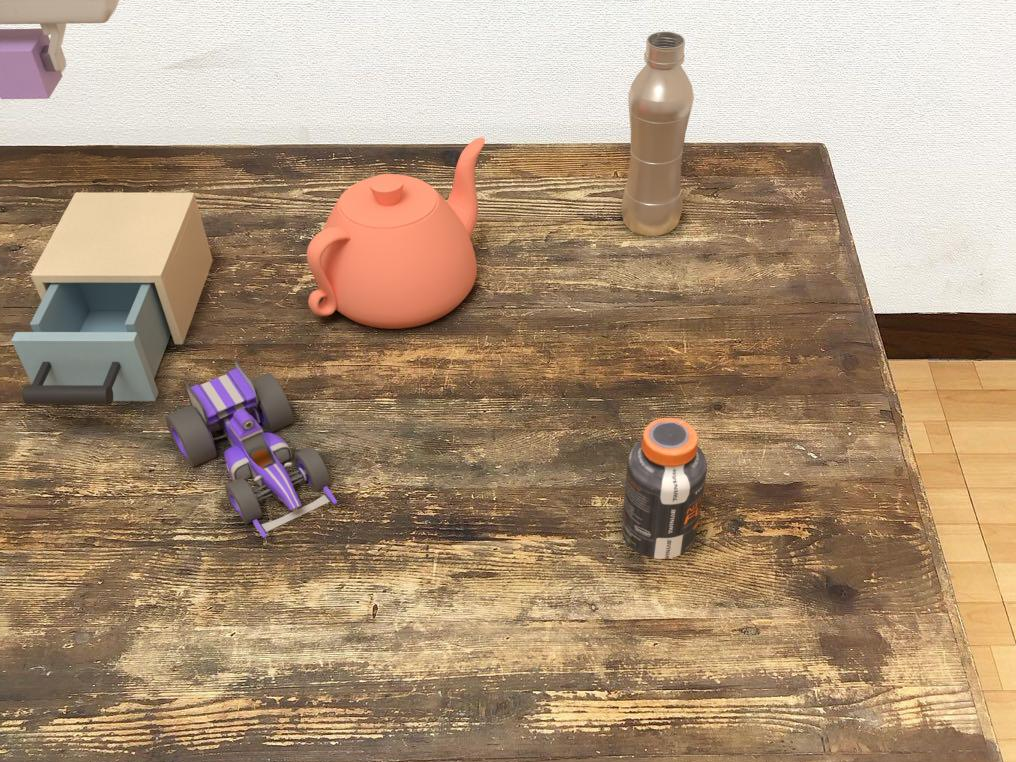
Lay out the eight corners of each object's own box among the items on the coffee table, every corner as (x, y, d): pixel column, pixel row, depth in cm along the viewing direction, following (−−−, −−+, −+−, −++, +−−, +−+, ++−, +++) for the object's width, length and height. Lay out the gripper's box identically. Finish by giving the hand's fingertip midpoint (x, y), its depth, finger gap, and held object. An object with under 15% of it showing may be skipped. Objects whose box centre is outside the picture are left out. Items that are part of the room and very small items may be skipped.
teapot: (443, 217, 116) (434, 106, 107) (540, 279, 109) (540, 166, 99) (272, 300, 106) (245, 187, 97) (365, 375, 99) (347, 260, 89)
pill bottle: (692, 570, 83) (709, 467, 75) (617, 561, 84) (625, 458, 75) (697, 514, 87) (714, 411, 79) (625, 506, 88) (633, 402, 79)
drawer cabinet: (185, 352, 101) (160, 275, 95) (63, 351, 101) (30, 275, 95) (215, 267, 110) (194, 192, 104) (102, 267, 110) (75, 192, 104)
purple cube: (0, 99, 97) (-19, 51, 94) (16, 76, 100) (-3, 28, 97) (48, 98, 97) (30, 50, 94) (62, 75, 100) (46, 28, 97)
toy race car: (248, 554, 85) (230, 497, 80) (174, 446, 93) (153, 389, 88) (355, 502, 88) (343, 445, 83) (274, 404, 96) (259, 346, 91)
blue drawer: (142, 438, 92) (118, 377, 87) (21, 438, 92) (-9, 377, 87) (187, 315, 103) (168, 254, 98) (80, 314, 104) (55, 254, 98)
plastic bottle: (687, 217, 116) (708, 29, 101) (671, 251, 112) (691, 60, 97) (629, 206, 117) (642, 20, 102) (612, 240, 113) (622, 50, 98)
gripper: (99, -114, 89) (146, 52, 99) (-146, -111, 89) (-73, 54, 100) (77, -86, 85) (130, 84, 95) (-180, -83, 85) (-99, 87, 95)
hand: (24, 69), depth 97 cm, fingers closed on purple cube, 4 cm apart
